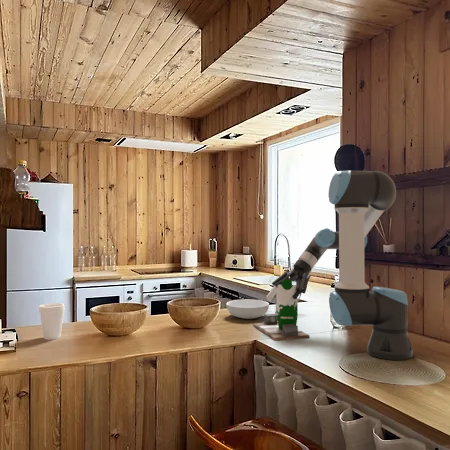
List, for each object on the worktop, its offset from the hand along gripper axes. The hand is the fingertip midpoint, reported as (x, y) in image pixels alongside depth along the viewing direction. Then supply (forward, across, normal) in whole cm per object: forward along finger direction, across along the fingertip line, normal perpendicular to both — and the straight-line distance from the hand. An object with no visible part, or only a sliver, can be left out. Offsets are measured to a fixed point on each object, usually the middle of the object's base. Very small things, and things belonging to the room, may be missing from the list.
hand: (277, 301), depth 190 cm
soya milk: (+6, -4, -9) cm, 12 cm away
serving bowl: (+5, +31, -13) cm, 34 cm away
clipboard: (+8, 0, -10) cm, 13 cm away
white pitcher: (-11, +28, -29) cm, 42 cm away
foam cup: (+68, +38, +50) cm, 93 cm away
